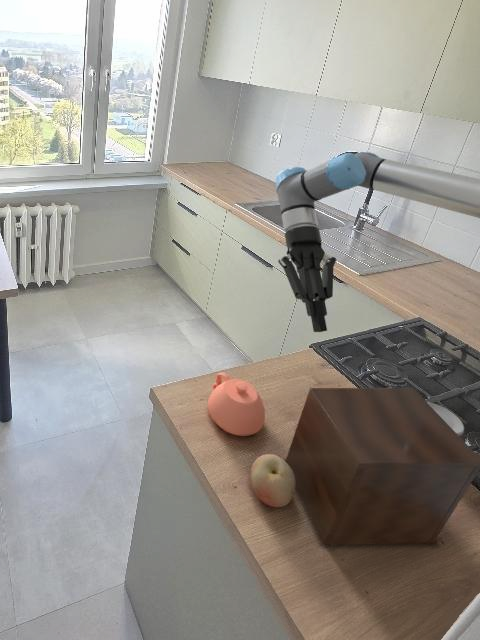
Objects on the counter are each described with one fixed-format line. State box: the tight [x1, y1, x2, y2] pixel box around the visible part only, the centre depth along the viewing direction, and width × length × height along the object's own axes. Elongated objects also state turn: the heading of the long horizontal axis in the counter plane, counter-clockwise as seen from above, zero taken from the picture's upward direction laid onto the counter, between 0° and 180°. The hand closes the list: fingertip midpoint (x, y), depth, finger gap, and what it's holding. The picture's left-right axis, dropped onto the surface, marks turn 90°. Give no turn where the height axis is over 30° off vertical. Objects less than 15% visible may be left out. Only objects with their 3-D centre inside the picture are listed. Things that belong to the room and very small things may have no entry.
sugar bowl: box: [207, 371, 266, 437], centre depth 94 cm, size 12×14×10 cm
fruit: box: [249, 453, 297, 508], centre depth 78 cm, size 8×8×8 cm
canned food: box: [426, 401, 465, 439], centre depth 87 cm, size 8×8×11 cm
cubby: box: [284, 387, 480, 546], centre depth 75 cm, size 20×15×21 cm
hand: (320, 331), depth 91 cm, fingers closed
